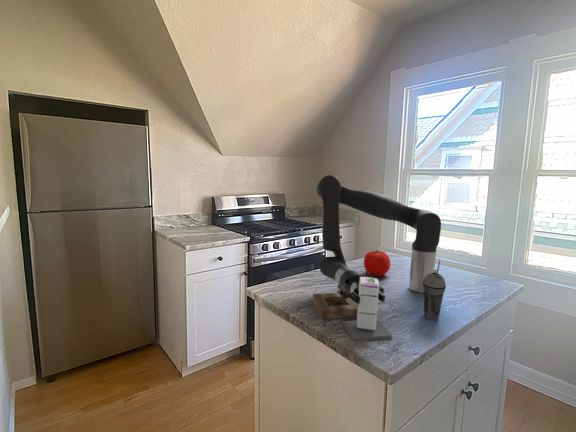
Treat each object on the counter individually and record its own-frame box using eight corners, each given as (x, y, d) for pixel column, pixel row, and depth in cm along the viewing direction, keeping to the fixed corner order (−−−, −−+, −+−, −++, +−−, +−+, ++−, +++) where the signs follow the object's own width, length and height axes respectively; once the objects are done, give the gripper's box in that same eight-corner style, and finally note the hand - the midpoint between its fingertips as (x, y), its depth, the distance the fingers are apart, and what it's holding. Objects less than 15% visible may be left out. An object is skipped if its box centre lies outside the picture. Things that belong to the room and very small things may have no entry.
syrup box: (376, 330, 95) (380, 284, 93) (355, 328, 96) (359, 282, 94) (374, 321, 101) (378, 278, 98) (355, 319, 102) (359, 275, 100)
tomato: (382, 269, 159) (384, 247, 158) (394, 278, 146) (396, 254, 145) (359, 270, 158) (360, 247, 156) (369, 279, 145) (371, 255, 143)
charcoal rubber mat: (377, 322, 104) (378, 319, 104) (391, 338, 95) (391, 335, 94) (342, 324, 103) (342, 321, 103) (352, 340, 93) (352, 337, 93)
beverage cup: (415, 312, 112) (420, 257, 109) (435, 312, 113) (440, 257, 110) (426, 322, 105) (431, 263, 102) (447, 321, 106) (453, 263, 103)
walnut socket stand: (348, 300, 121) (349, 292, 121) (361, 317, 108) (362, 308, 107) (312, 301, 120) (312, 294, 119) (321, 319, 106) (321, 310, 105)
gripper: (330, 271, 109) (349, 289, 93) (368, 268, 112) (393, 286, 96) (329, 291, 110) (348, 313, 94) (367, 289, 113) (392, 309, 97)
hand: (371, 299), depth 95 cm, fingers closed on syrup box, 7 cm apart
